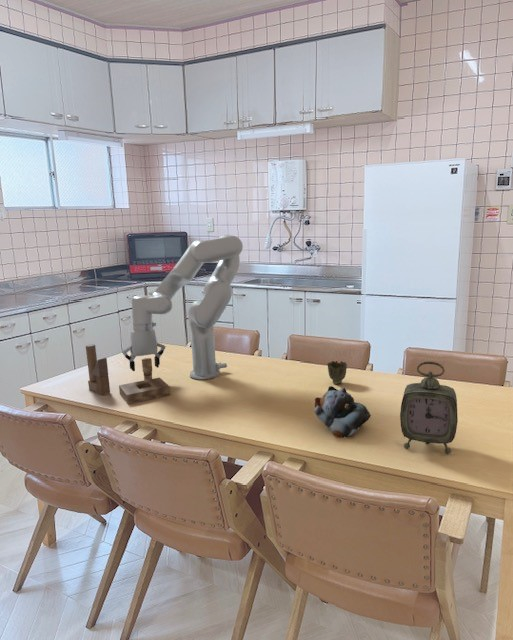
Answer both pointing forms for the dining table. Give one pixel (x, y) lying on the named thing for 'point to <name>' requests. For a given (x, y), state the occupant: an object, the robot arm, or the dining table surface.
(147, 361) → the peg
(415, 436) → the tabletop clock
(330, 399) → the lucky cat figurine
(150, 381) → the board
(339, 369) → the cup
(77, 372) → the dining table surface
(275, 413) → the dining table surface
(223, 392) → the dining table surface
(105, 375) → the brown jointed angular part
